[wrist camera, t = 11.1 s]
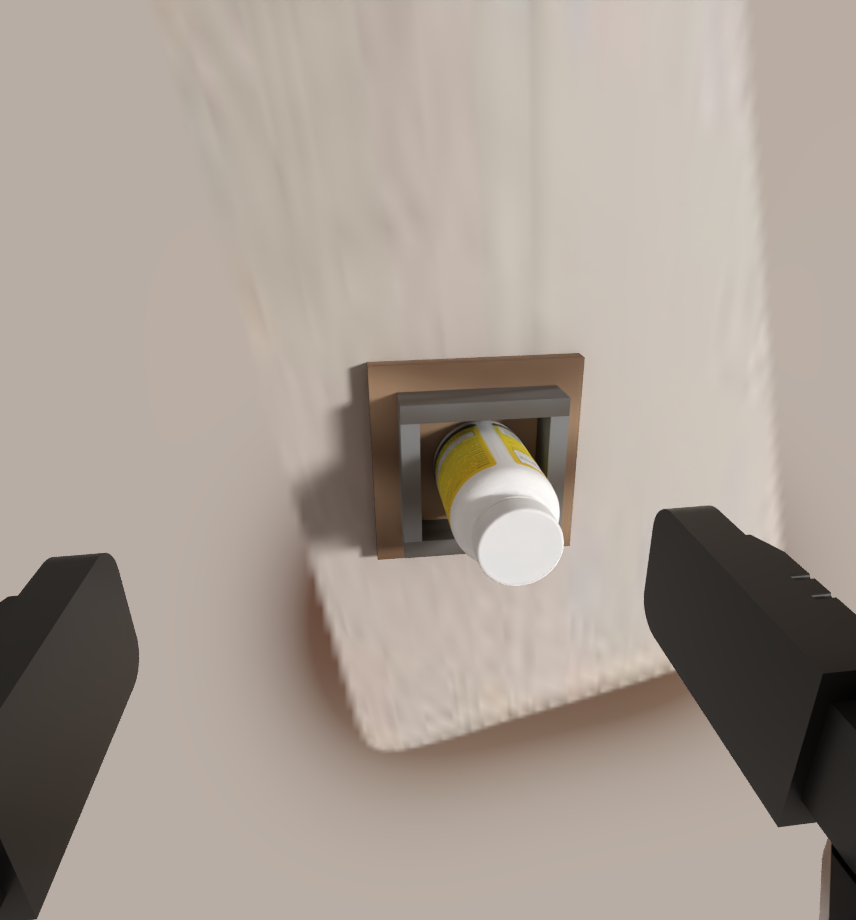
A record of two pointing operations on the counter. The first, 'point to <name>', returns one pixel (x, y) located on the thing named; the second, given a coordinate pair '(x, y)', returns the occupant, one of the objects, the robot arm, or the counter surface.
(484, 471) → the supplement bottle
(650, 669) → the counter surface
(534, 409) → the socket base
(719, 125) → the counter surface
